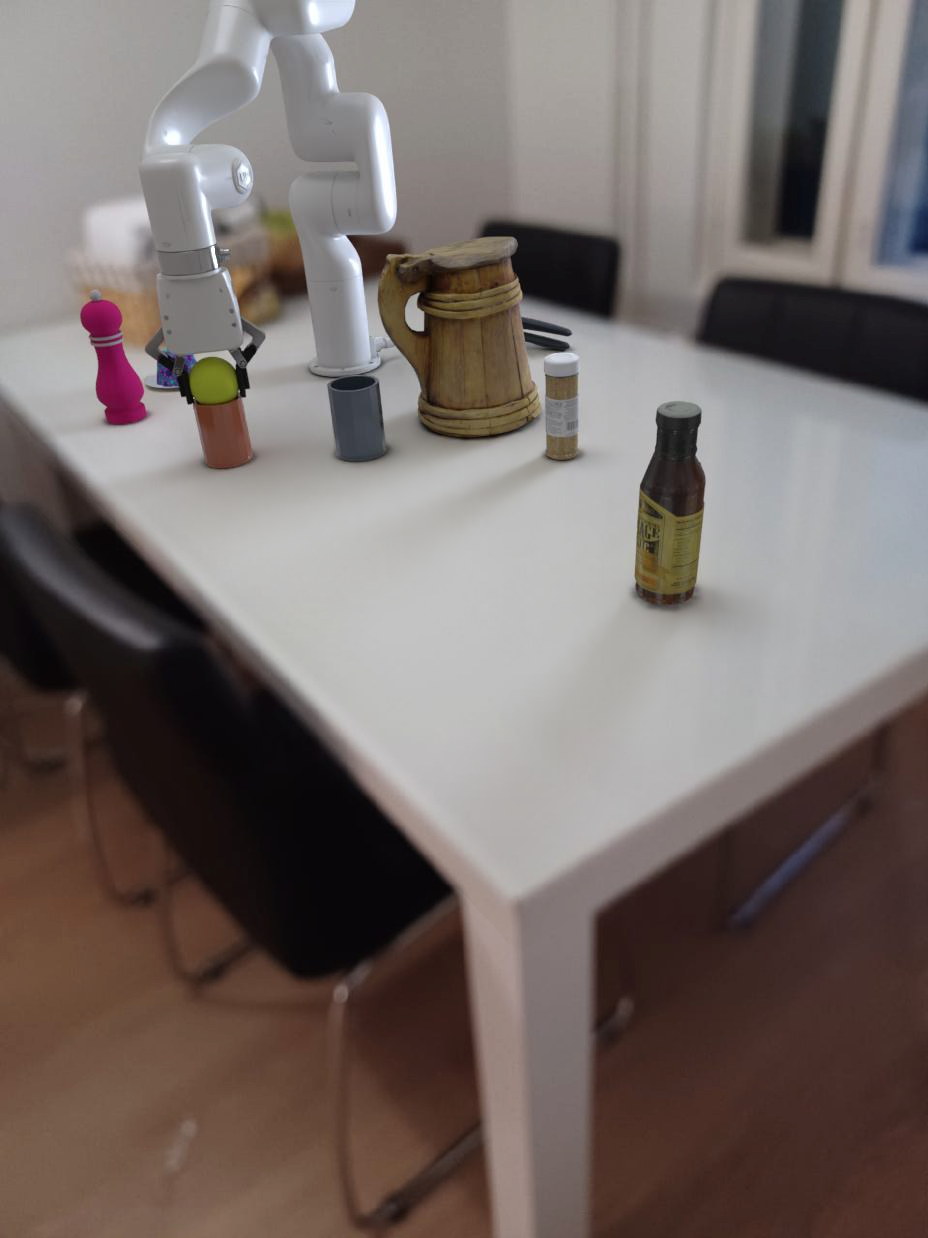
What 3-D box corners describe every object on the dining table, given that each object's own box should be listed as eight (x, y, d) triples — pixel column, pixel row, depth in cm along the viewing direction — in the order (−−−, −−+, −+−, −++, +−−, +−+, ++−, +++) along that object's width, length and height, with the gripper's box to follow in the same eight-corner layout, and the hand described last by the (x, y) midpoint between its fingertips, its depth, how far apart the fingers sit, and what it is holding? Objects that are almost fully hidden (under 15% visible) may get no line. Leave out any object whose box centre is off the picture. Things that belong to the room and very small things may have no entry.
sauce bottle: (627, 580, 100) (634, 397, 90) (686, 575, 100) (700, 391, 90) (642, 613, 95) (652, 421, 84) (704, 607, 95) (721, 415, 84)
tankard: (564, 419, 141) (563, 241, 128) (421, 457, 132) (404, 269, 119) (502, 388, 155) (496, 223, 141) (369, 419, 146) (349, 247, 133)
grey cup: (372, 438, 139) (364, 371, 134) (395, 453, 134) (387, 383, 129) (328, 450, 136) (318, 382, 131) (350, 465, 131) (341, 395, 126)
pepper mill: (136, 426, 149) (103, 295, 139) (95, 425, 151) (59, 295, 140) (158, 410, 155) (127, 283, 145) (117, 409, 157) (85, 284, 146)
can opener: (475, 345, 176) (474, 314, 173) (494, 335, 181) (493, 305, 178) (562, 356, 167) (561, 323, 164) (579, 345, 172) (579, 313, 169)
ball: (233, 394, 135) (224, 346, 132) (251, 407, 130) (242, 358, 127) (187, 405, 133) (176, 357, 129) (203, 419, 128) (192, 368, 124)
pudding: (131, 389, 166) (123, 359, 163) (173, 368, 175) (166, 339, 172) (188, 394, 161) (181, 363, 159) (228, 372, 171) (222, 342, 168)
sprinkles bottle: (567, 445, 132) (567, 349, 125) (585, 456, 129) (586, 357, 122) (539, 452, 131) (537, 355, 124) (556, 463, 127) (555, 364, 120)
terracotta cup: (242, 446, 139) (231, 386, 135) (259, 460, 135) (248, 398, 130) (199, 458, 137) (186, 397, 132) (215, 472, 132) (201, 409, 127)
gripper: (257, 248, 126) (279, 381, 135) (122, 262, 123) (154, 397, 133) (259, 260, 119) (281, 398, 129) (116, 274, 117) (150, 415, 126)
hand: (216, 396), depth 131 cm, fingers closed on ball, 6 cm apart
